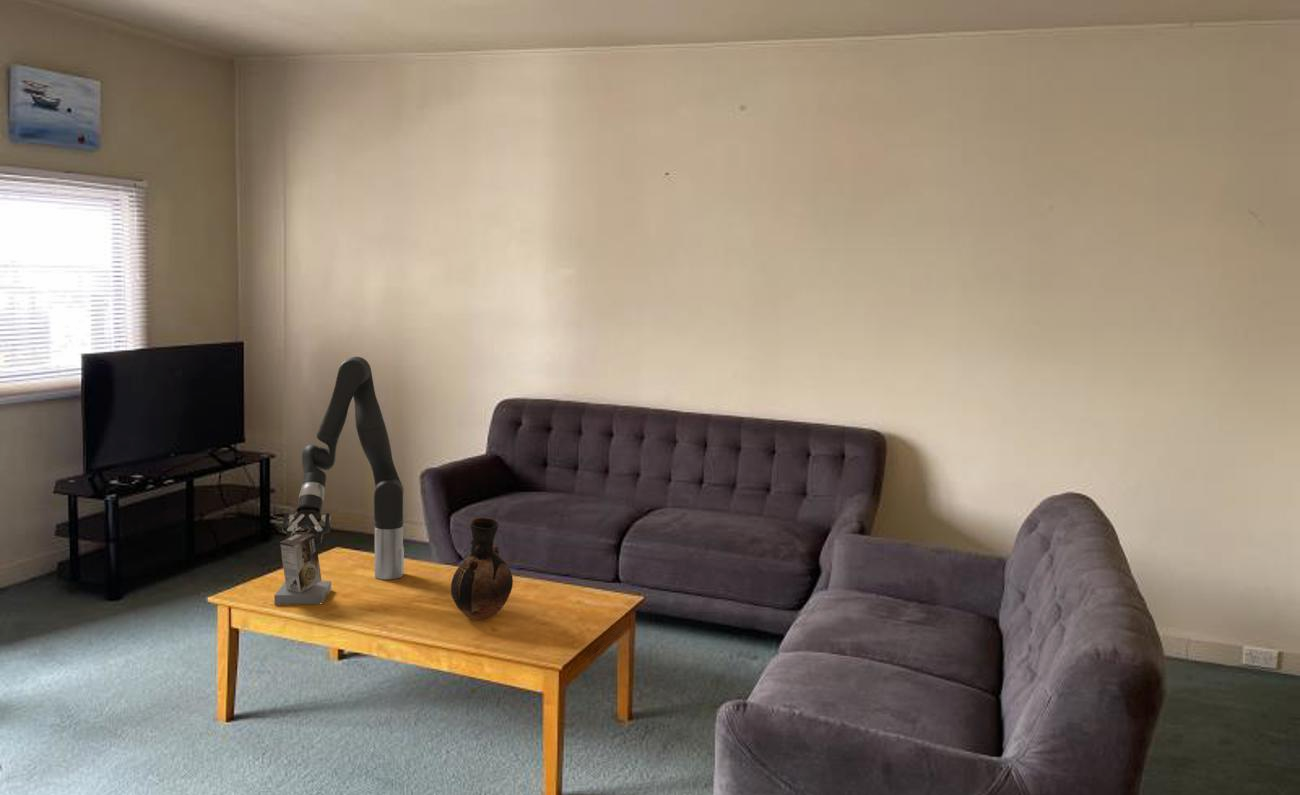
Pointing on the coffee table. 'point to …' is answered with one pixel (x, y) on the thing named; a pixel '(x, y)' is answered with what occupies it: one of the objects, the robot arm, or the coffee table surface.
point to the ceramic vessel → (482, 574)
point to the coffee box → (300, 561)
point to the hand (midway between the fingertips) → (303, 543)
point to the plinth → (303, 594)
